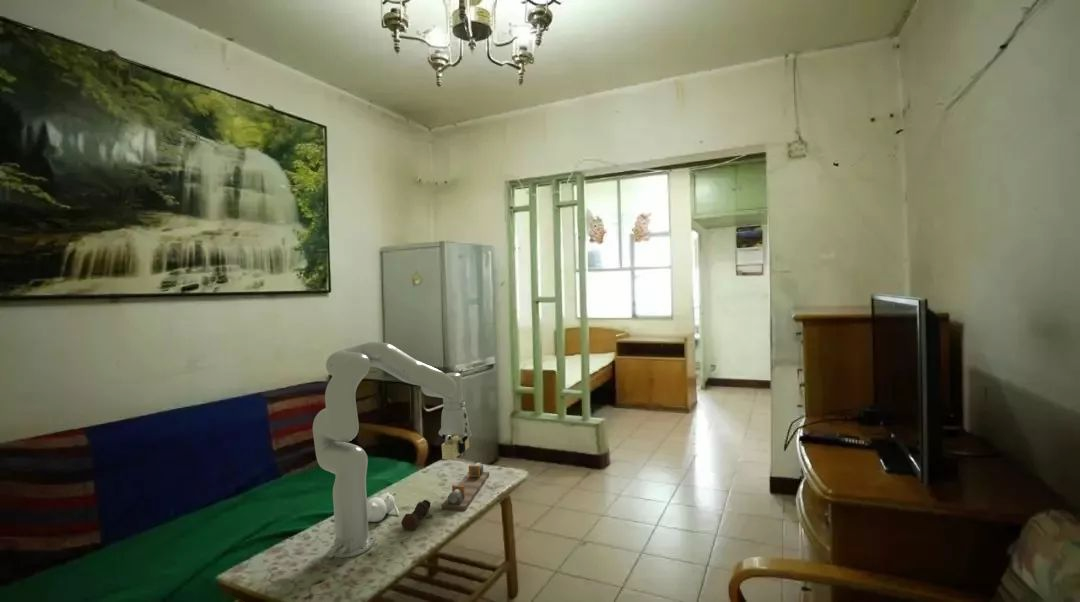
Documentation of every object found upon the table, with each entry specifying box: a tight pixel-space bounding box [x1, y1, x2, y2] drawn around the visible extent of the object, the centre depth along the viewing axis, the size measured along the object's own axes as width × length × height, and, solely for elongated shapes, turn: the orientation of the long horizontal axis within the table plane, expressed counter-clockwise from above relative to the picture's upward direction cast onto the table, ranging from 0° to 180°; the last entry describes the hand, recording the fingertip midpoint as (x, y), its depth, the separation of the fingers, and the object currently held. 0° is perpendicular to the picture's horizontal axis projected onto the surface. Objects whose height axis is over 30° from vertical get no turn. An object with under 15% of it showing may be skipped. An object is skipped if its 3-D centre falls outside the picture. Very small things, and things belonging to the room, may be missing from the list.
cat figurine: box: [367, 491, 400, 523], centre depth 156 cm, size 9×11×12 cm
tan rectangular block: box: [441, 433, 470, 460], centre depth 174 cm, size 4×13×6 cm, turn 161°
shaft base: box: [441, 462, 490, 511], centre depth 175 cm, size 30×9×6 cm, turn 171°
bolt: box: [400, 499, 431, 532], centre depth 154 cm, size 6×5×15 cm
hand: (456, 451), depth 174 cm, fingers closed on tan rectangular block, 4 cm apart
